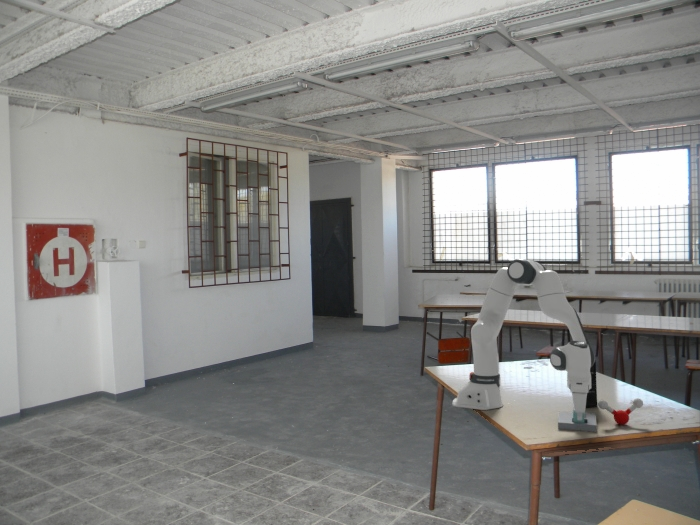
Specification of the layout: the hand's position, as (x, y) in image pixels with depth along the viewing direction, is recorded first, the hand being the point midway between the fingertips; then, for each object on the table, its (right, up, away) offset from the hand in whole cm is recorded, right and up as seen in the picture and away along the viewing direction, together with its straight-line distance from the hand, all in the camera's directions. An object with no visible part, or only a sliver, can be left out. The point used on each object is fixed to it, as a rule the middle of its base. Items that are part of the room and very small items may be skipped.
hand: (579, 417), depth 231 cm
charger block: (0, -3, 0) cm, 3 cm away
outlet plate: (0, -4, +4) cm, 5 cm away
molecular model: (+17, -3, +2) cm, 18 cm away
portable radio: (+14, -3, +28) cm, 32 cm away
